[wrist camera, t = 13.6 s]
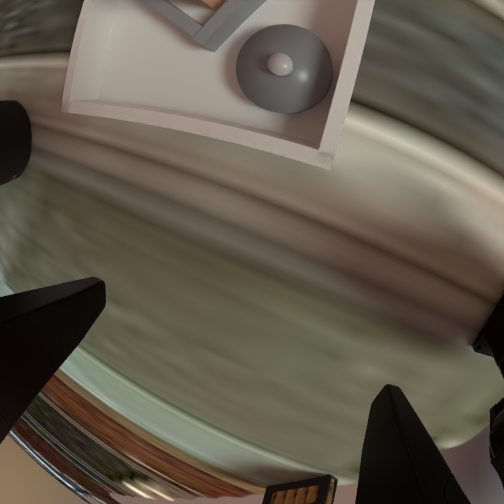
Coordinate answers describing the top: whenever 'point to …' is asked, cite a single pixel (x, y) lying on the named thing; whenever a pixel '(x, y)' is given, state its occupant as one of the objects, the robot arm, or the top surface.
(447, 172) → the top surface
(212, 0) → the post
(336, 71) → the tray
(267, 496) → the ammunition clip
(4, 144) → the pen holder
